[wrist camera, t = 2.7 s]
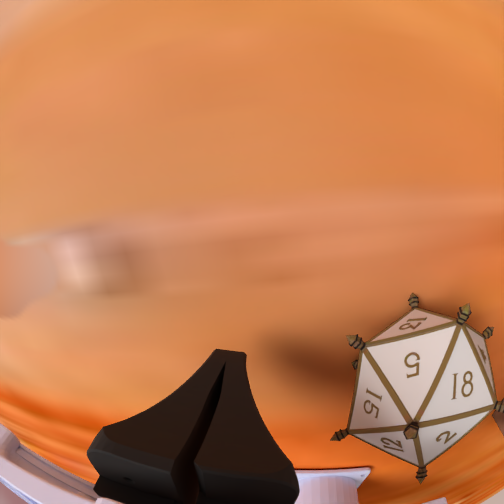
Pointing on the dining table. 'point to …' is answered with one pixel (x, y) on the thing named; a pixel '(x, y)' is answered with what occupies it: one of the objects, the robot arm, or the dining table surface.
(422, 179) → the dining table surface
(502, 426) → the batten
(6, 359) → the dining table surface
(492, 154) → the dining table surface
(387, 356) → the game die
